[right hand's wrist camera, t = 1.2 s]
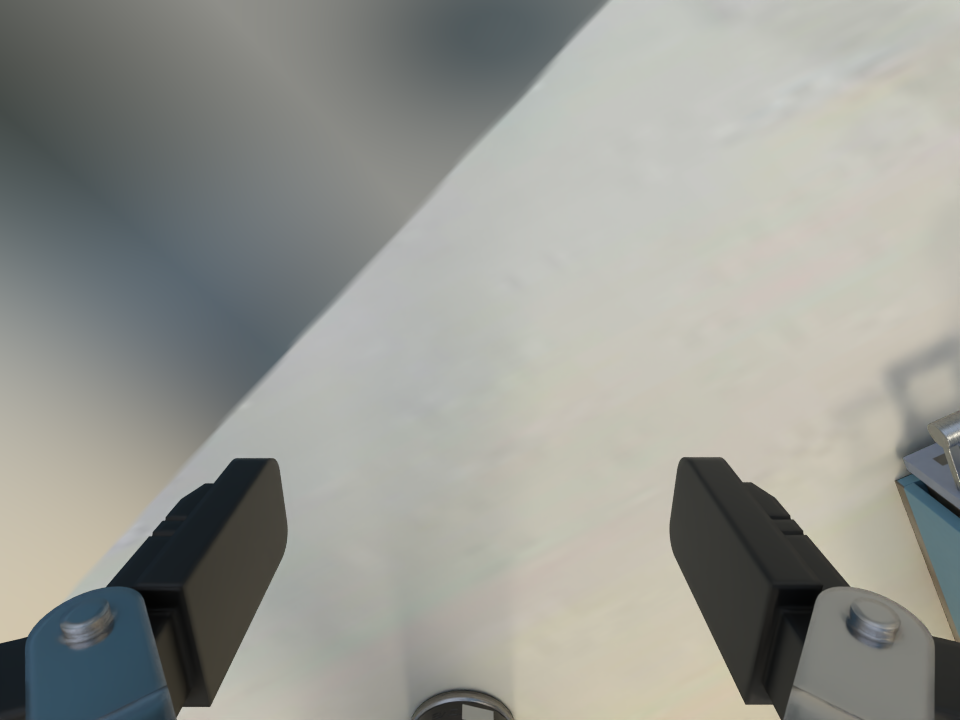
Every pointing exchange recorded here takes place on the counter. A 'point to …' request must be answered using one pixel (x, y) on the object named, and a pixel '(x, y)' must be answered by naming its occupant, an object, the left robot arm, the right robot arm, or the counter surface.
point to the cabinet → (936, 544)
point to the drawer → (940, 462)
